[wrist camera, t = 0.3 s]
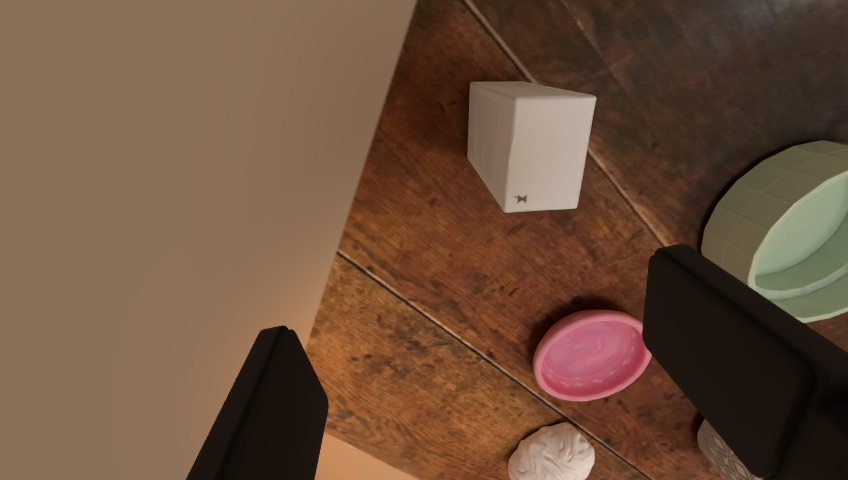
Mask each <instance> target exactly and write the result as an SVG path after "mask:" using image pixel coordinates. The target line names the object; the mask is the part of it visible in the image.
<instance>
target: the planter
mask: <svg viewBox="0 0 848 480" xmlns="http://www.w3.org/2000/svg"><path fill="white" fill-rule="evenodd" d="M697 442H698V445H699V448H700V449H701V451H702V452H703V453H704V455H705V456H706V457H707V459H708V460H709V461H710V463H711V464H712V465H713V467H714V468H715V469H716V471H717V472H718V473H719V475H720V476H721V477H722V479H723V480H763V478H758V477H755V476H754V475H753V474H751V473H750V472H749V471H748V470H747V468H746V467H745V466H744V465H743V464H742V462H741V461H740V460H739V459H738V458H737V456H736V455H735V454H734V453H733V452H732V450H731V449H730V448H729V447H728V446H727V444H726V443H725V442H724V441H723V440H722V438H721V437H720V436H719V435H718V434H717V432H716V431H715V430H714V429H713V428H712V426H711V425H710V424H709V423H708V422H707V420H706V419H704V421H703V423H702V424H701V426H700V428H699V431H698V436H697Z"/></svg>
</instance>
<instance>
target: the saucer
mask: <svg viewBox="0 0 848 480" xmlns="http://www.w3.org/2000/svg"><path fill="white" fill-rule="evenodd" d="M642 328H643V324H642V323H641V322H640V321H639V320H638V319H636V318H635V317H633V316H631V315H629V314H626V313H623V312H619V311H613V310H602V309H601V310H584V311H579V312H575V313H573V314H570V315H568V316H566V317H564V318H562V319H560V320H559V321H557V322H556V323H555V324H554V325H553V326H552V327H551V328H550V329H549V330H548V331H547V332H546V334H545V335H544V336H543V338H542V339H541V341H540V343H539V345H538V347H537V349H536V351H535V354H534V358H533V371H534V375H535V377H536V380H537V382H538V384H539V385H540V386H541V388H542V389H543V390H544V391H546V392H547V393H548V394H550V395H552V396H554V397H556V398H559V399H563V400H568V401H588V400H595V399H599V398H603V397H606V396H609V395H611V394H614V393H616V392H618V391H620V390H622V389H624V388H625V387H627V386H628V385H629V384H631V383H632V382H633V381H634V380H636V379H637V378H638V377H639V376H640V375H641V373H642V372H643V371H644V370H645V368H646V367H647V365H648V363H649V361H650V359H651V355H652V354H651V353H650V352H649V350H648V349H647V348H646V346H645V344H644V342H643V339H642Z"/></svg>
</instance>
